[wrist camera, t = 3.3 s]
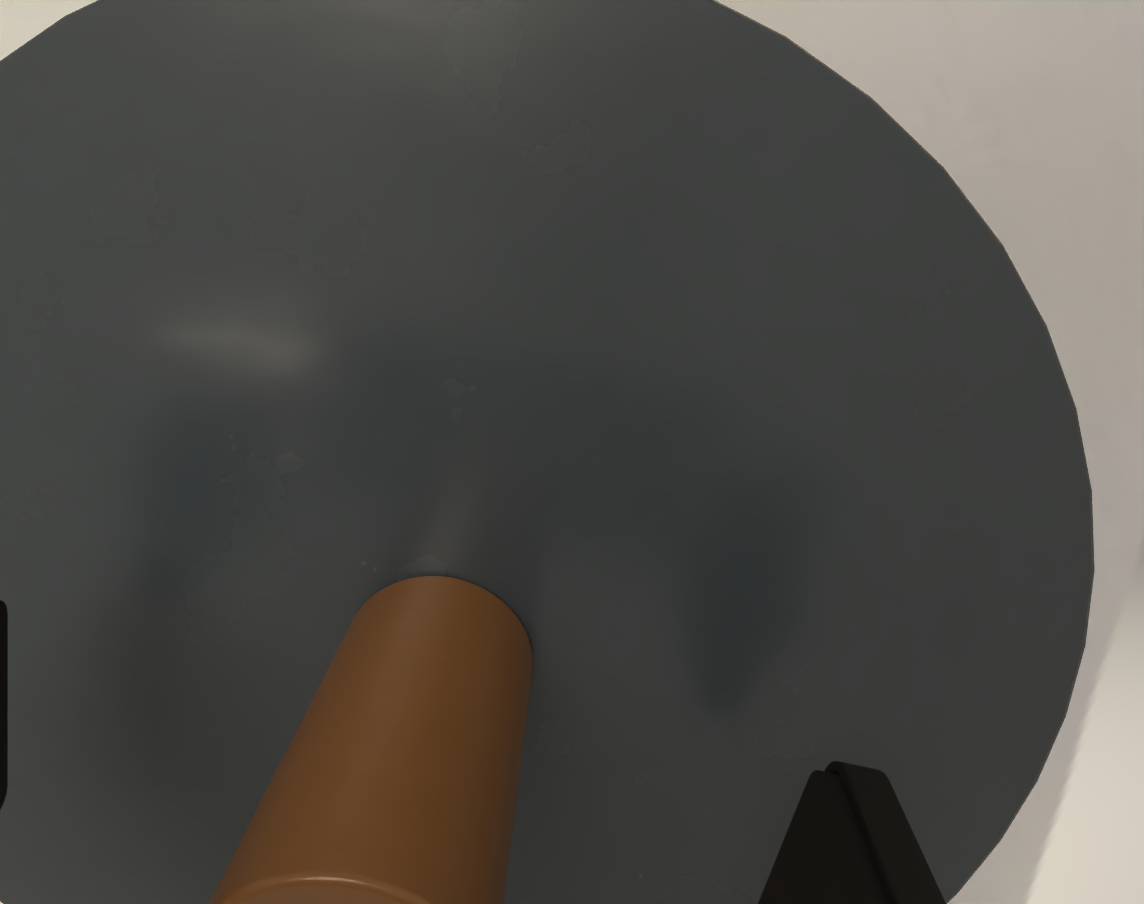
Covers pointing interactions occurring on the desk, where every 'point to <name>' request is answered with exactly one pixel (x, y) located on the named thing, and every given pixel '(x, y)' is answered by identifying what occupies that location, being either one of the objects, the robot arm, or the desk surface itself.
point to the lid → (504, 460)
